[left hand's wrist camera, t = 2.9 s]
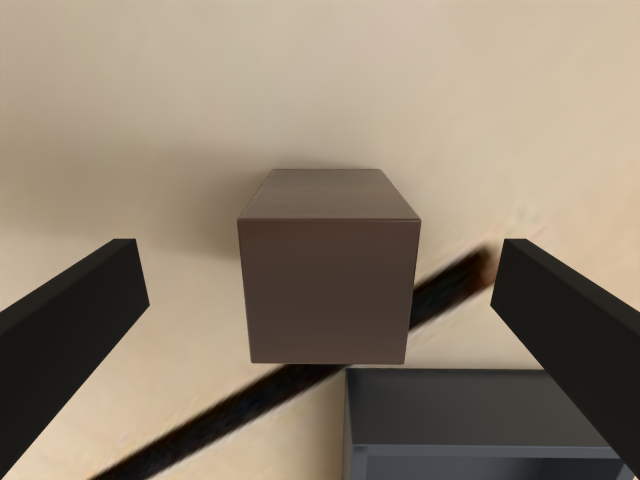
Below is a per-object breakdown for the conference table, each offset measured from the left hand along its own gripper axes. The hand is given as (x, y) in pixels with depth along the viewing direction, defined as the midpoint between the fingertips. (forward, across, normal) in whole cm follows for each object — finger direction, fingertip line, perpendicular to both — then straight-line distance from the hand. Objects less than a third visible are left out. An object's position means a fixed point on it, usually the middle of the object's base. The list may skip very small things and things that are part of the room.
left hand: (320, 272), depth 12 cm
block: (+5, 0, 0) cm, 5 cm away
